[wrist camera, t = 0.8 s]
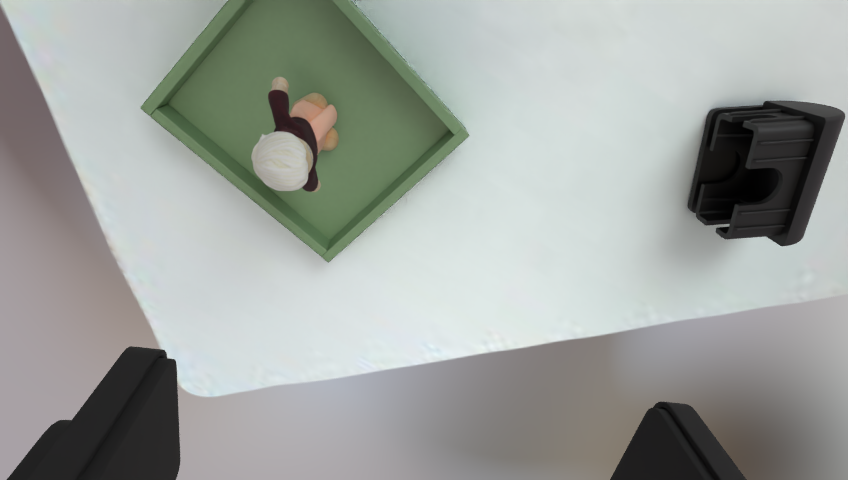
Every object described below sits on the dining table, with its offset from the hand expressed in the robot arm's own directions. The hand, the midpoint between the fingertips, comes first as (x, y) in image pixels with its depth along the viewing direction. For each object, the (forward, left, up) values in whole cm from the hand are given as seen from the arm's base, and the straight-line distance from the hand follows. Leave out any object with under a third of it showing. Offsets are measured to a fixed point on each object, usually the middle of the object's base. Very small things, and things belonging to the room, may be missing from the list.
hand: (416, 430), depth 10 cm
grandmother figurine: (-4, -5, -31) cm, 31 cm away
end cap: (+23, +18, -31) cm, 43 cm away
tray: (-4, -5, -31) cm, 32 cm away
